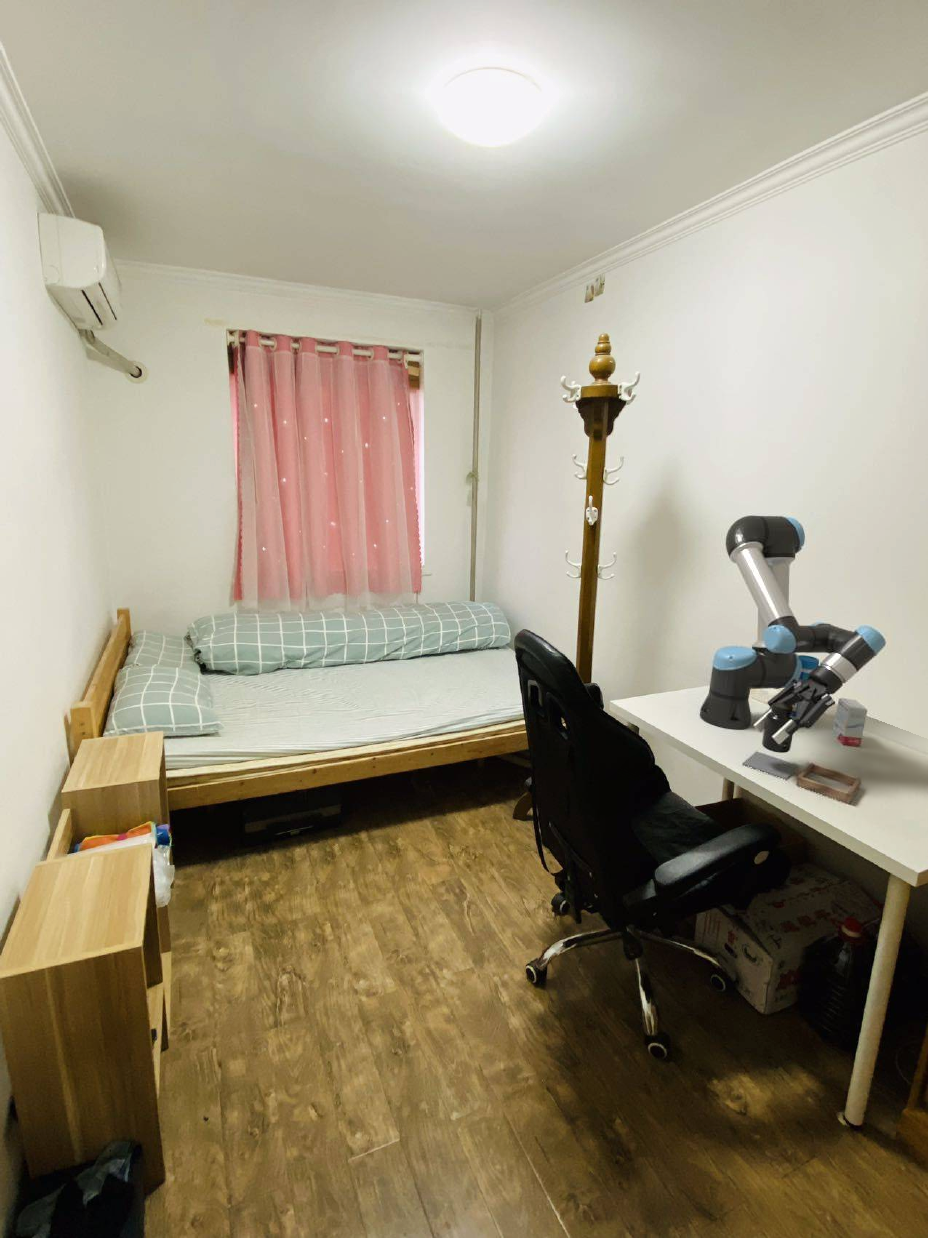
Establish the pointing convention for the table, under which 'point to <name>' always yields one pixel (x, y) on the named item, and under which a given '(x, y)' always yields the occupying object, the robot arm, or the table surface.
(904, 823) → the table surface
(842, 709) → the ink box
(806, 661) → the beverage bottle
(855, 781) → the walnut open box
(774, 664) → the robot arm
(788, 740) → the supplement bottle
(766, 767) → the grey rubber mat
